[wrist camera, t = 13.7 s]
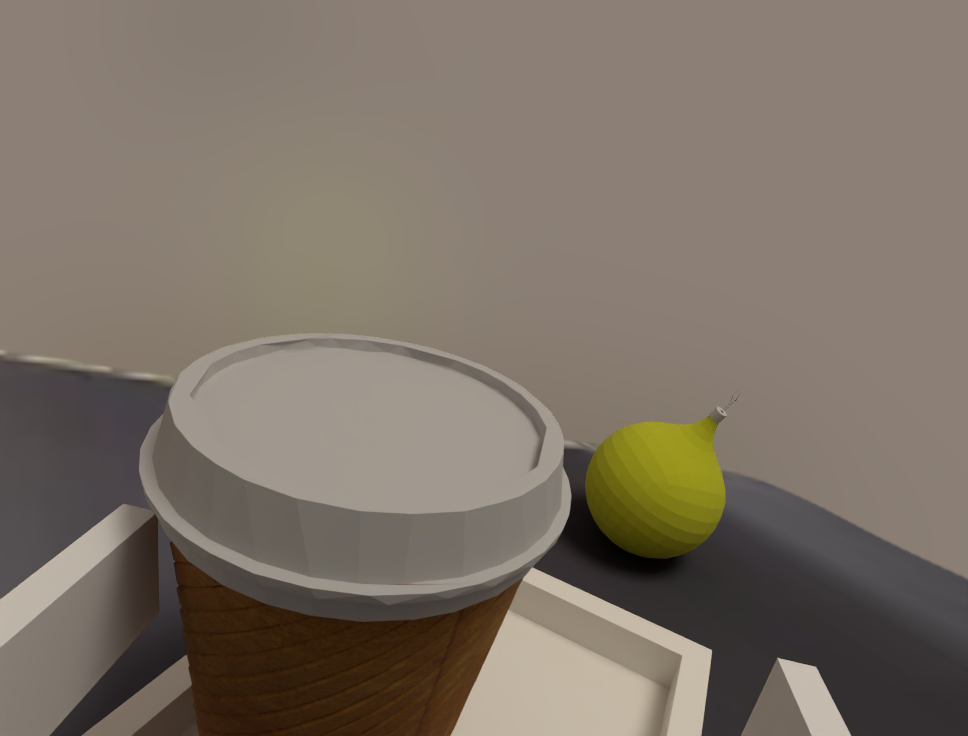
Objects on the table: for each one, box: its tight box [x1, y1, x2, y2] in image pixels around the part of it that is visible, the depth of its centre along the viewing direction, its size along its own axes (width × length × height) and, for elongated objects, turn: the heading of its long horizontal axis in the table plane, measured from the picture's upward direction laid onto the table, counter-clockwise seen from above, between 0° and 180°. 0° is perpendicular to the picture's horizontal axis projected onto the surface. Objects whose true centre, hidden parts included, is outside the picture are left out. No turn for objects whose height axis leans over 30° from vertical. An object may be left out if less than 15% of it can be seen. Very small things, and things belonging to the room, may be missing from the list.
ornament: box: [585, 400, 736, 559], centre depth 31 cm, size 7×7×10 cm
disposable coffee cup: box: [139, 333, 571, 736], centre depth 15 cm, size 10×10×12 cm
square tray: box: [82, 568, 712, 736], centre depth 19 cm, size 15×15×2 cm
